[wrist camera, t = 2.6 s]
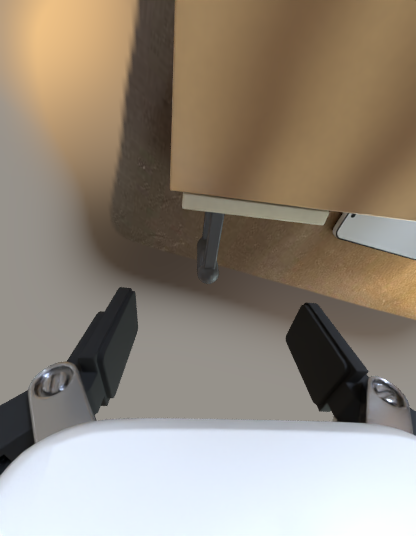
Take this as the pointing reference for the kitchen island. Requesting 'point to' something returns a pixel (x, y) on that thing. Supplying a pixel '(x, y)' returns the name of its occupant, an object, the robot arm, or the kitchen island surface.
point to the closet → (297, 103)
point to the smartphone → (378, 233)
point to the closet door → (223, 205)
